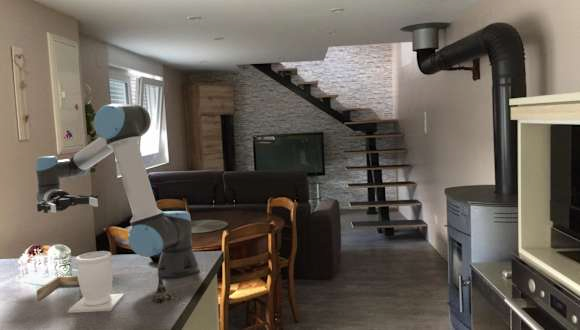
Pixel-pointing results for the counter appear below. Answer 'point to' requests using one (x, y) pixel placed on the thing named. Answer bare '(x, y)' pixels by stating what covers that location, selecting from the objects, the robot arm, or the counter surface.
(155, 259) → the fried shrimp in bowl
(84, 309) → the ceramic tile
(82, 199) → the robot arm
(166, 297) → the eiffel tower figurine
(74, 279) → the oak cradle
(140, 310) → the counter surface
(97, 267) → the jar
